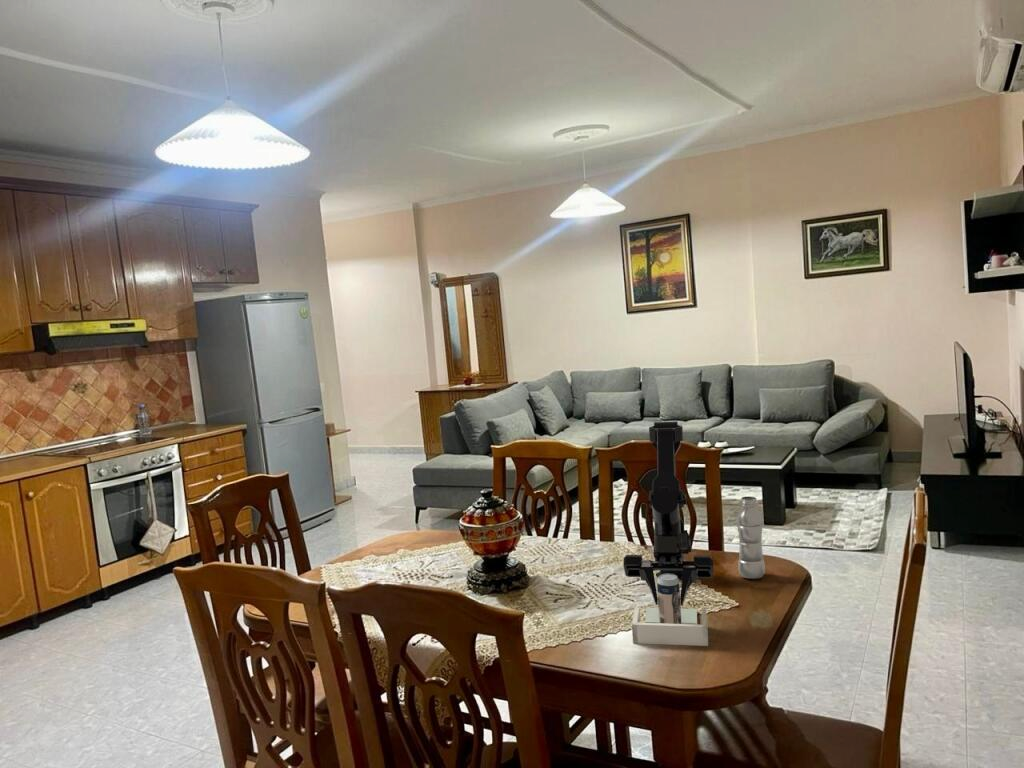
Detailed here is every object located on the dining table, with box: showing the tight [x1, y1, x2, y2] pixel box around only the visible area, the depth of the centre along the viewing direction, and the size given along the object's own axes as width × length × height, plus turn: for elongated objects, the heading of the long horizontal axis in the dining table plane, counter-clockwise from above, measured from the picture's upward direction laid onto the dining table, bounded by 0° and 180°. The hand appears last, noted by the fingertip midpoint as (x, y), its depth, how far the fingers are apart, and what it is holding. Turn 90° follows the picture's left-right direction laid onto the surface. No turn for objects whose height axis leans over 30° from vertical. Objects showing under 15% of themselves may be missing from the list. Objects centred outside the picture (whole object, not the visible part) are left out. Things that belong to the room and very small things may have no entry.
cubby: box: [631, 606, 709, 647], centre depth 153 cm, size 9×15×4 cm, turn 77°
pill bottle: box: [656, 574, 682, 624], centre depth 154 cm, size 5×5×12 cm
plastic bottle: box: [735, 495, 766, 580], centre depth 181 cm, size 6×7×20 cm
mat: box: [644, 607, 698, 624], centre depth 162 cm, size 8×11×1 cm
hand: (669, 604), depth 153 cm, fingers closed on pill bottle, 5 cm apart
